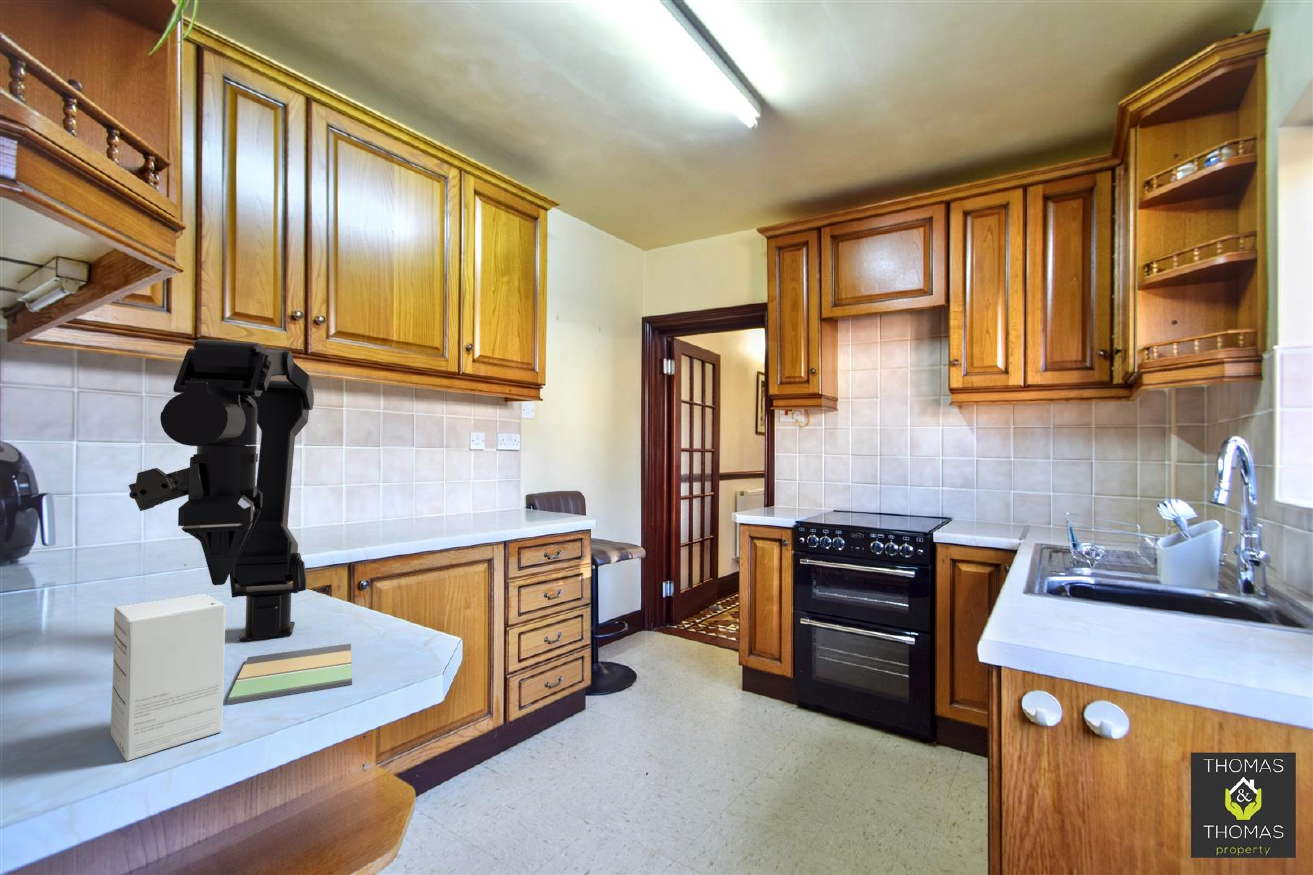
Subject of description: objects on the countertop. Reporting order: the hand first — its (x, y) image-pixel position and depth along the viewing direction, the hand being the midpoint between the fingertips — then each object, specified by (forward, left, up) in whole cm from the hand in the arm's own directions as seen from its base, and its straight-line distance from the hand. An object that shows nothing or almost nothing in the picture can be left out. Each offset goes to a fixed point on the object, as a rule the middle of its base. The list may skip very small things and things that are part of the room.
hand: (224, 576), depth 68 cm
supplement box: (+13, -2, -13) cm, 18 cm away
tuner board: (0, +8, -13) cm, 15 cm away
